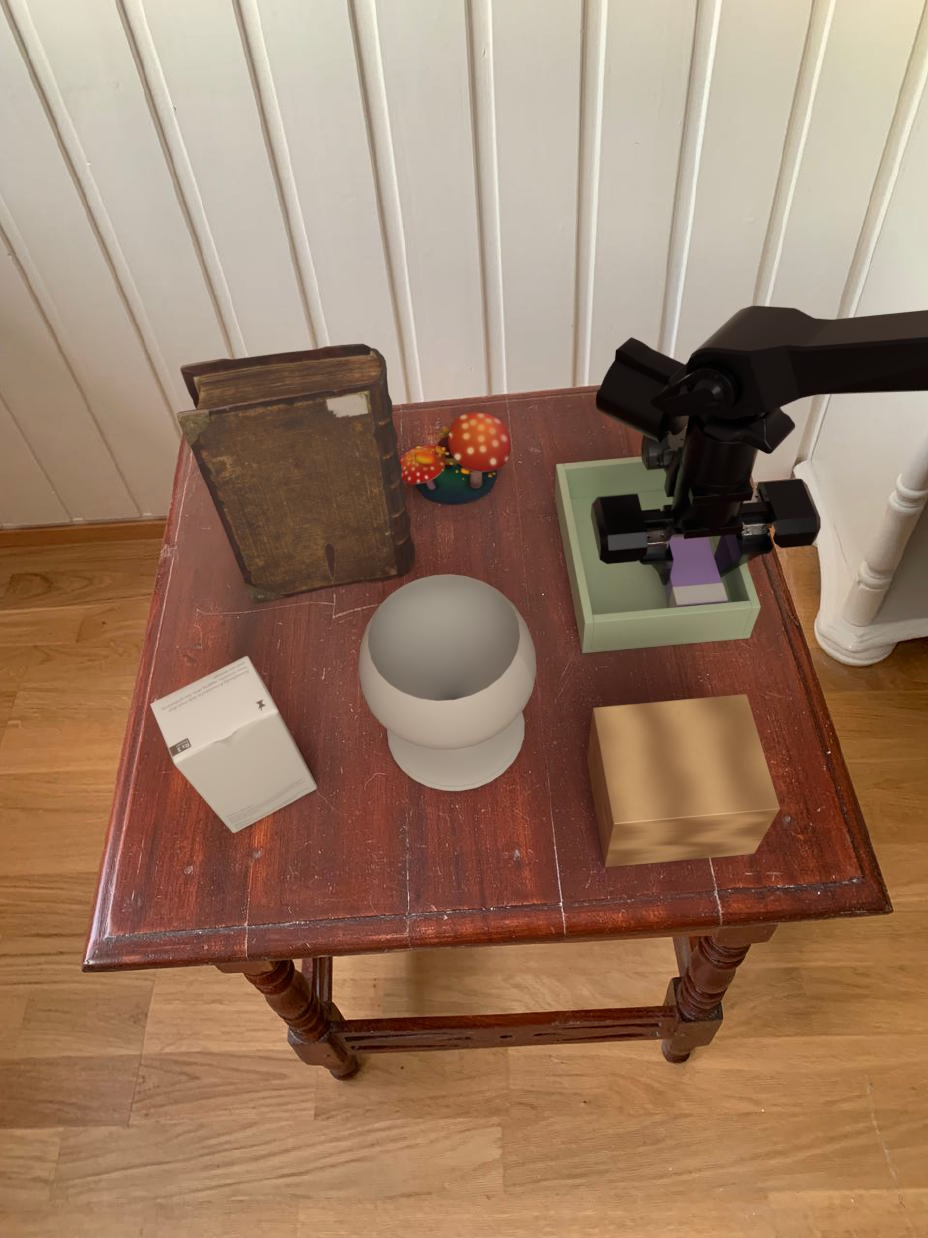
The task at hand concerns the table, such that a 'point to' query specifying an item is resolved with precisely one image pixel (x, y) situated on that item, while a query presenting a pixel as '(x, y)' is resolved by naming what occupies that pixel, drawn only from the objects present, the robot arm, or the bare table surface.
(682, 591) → the chocolate bar
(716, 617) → the tray
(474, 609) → the chalice
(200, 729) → the cosmetic box
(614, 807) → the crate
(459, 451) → the figurine
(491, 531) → the table surface
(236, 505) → the book
